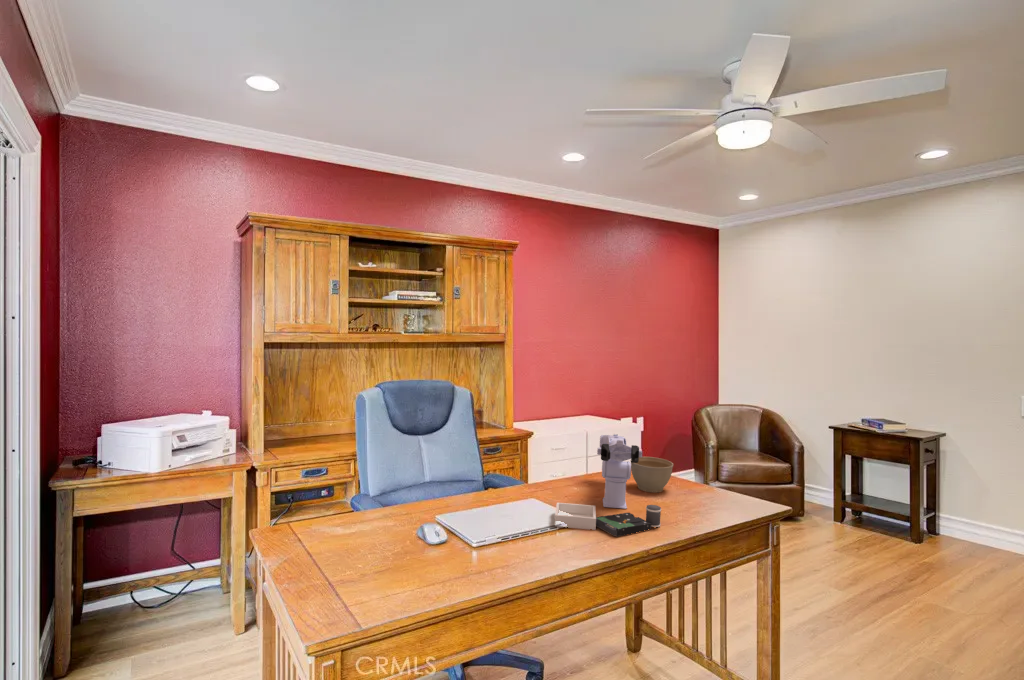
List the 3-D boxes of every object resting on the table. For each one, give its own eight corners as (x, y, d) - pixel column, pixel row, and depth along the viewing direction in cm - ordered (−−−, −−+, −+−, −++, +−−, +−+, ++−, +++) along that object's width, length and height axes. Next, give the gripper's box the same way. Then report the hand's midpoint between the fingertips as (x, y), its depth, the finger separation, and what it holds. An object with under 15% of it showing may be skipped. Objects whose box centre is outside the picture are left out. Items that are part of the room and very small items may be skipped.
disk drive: (627, 520, 184) (593, 525, 176) (628, 512, 184) (594, 516, 176) (651, 532, 175) (616, 537, 167) (652, 523, 175) (617, 528, 167)
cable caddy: (556, 512, 187) (556, 502, 187) (594, 516, 185) (595, 505, 185) (554, 526, 174) (555, 515, 174) (595, 530, 173) (596, 518, 173)
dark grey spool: (644, 522, 181) (645, 504, 181) (659, 523, 181) (660, 505, 181) (646, 527, 177) (646, 508, 177) (661, 529, 176) (662, 510, 176)
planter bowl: (621, 488, 218) (623, 461, 218) (641, 481, 230) (642, 454, 230) (660, 498, 208) (661, 469, 207) (678, 489, 220) (680, 462, 220)
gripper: (597, 437, 193) (598, 442, 179) (640, 439, 191) (645, 445, 178) (596, 457, 193) (597, 464, 179) (639, 460, 191) (644, 467, 177)
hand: (621, 456), depth 178 cm, fingers open, 7 cm apart
